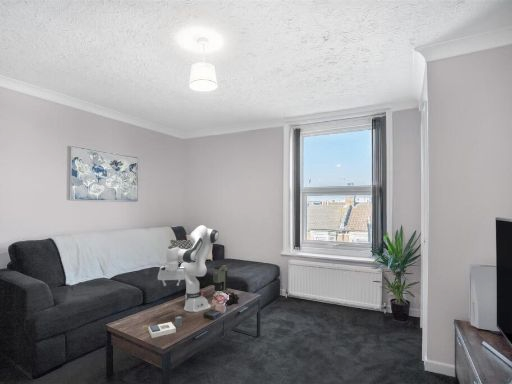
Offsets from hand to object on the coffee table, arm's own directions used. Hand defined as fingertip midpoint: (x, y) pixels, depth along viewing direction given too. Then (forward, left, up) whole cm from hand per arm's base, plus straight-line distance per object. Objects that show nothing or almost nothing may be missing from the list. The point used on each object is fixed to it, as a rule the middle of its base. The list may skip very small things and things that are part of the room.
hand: (171, 285), depth 220 cm
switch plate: (+9, +12, -28) cm, 32 cm away
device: (-59, -39, -28) cm, 76 cm away
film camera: (-56, -14, -28) cm, 65 cm away
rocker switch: (-4, +8, -28) cm, 29 cm away
